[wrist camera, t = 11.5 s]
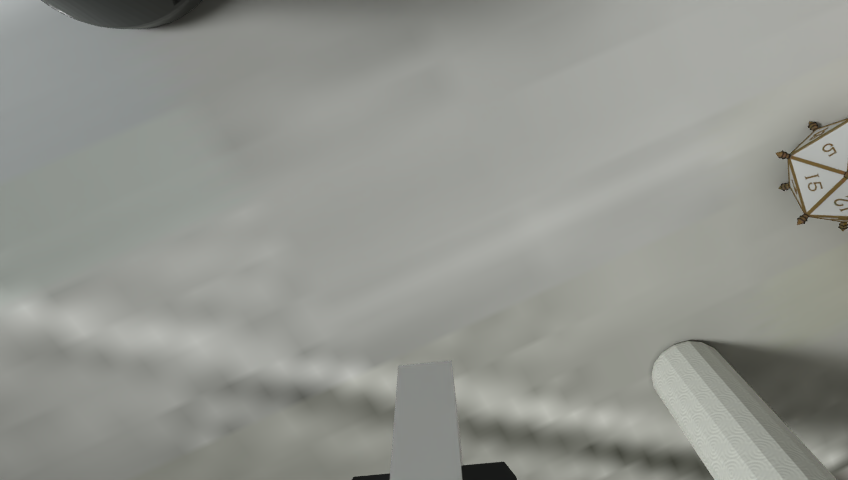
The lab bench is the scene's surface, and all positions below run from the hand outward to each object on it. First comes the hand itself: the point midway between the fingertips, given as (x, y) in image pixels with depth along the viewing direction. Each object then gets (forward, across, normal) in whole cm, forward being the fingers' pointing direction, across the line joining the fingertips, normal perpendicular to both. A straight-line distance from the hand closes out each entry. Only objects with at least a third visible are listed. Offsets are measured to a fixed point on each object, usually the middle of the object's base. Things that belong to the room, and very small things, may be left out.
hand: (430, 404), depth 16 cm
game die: (+29, +29, -2) cm, 41 cm away
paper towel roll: (+29, +20, -20) cm, 40 cm away
